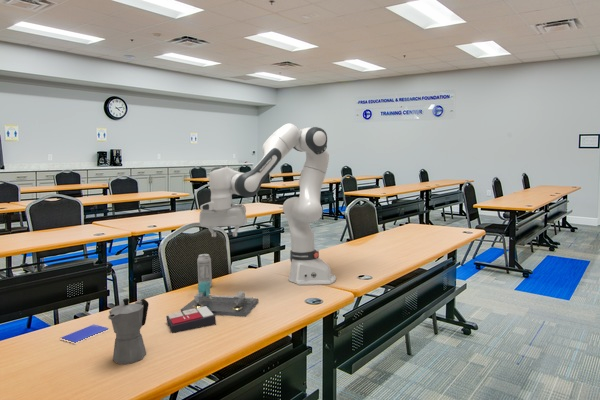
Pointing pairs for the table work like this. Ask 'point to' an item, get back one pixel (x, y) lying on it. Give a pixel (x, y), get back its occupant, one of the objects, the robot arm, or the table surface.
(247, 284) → the table surface
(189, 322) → the calculator
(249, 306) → the hole plate
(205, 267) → the energy drink can
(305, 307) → the table surface
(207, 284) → the slider
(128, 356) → the coffeepot
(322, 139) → the robot arm
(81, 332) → the hard drive
